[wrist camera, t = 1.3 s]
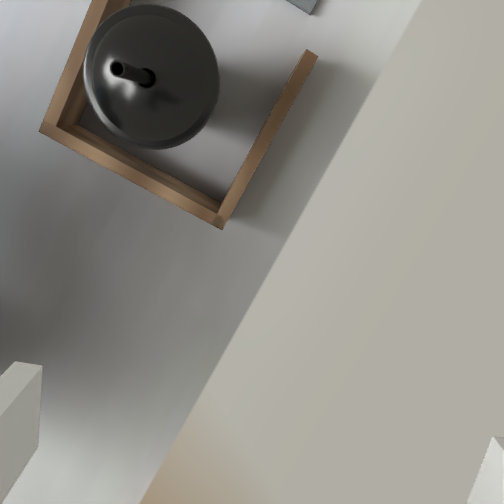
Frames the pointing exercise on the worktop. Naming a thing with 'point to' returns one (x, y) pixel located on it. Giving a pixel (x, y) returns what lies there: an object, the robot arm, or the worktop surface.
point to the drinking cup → (151, 76)
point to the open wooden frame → (132, 168)
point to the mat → (304, 4)
